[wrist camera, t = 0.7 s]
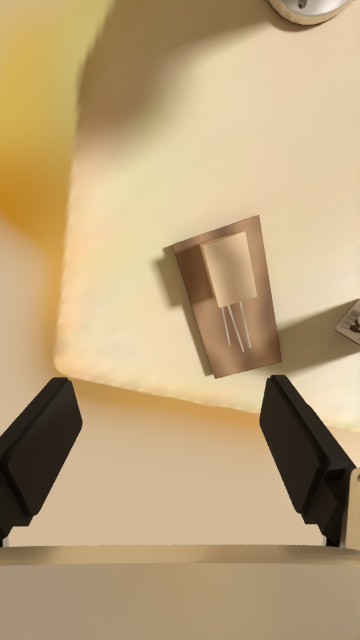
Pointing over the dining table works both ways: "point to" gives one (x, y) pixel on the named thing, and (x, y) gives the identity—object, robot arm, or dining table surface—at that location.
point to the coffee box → (351, 324)
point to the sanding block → (229, 268)
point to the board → (232, 306)
